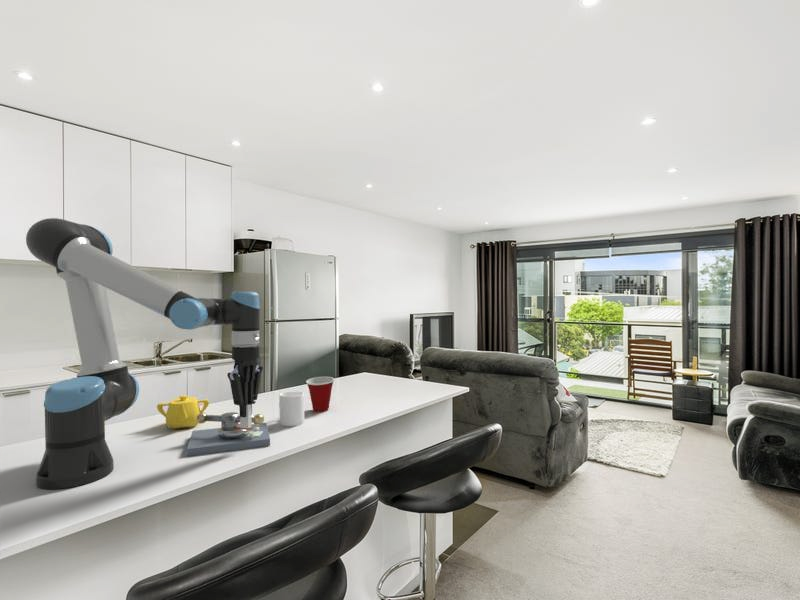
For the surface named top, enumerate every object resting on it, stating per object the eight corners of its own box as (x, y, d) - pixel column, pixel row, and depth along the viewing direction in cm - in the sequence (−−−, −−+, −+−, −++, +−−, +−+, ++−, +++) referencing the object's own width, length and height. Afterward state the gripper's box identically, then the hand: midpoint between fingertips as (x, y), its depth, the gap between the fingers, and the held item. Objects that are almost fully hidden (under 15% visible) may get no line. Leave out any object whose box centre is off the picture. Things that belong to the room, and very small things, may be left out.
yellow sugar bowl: (214, 423, 147) (214, 393, 147) (180, 434, 136) (180, 402, 136) (187, 418, 153) (187, 390, 153) (153, 428, 142) (153, 397, 142)
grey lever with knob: (188, 438, 125) (188, 416, 125) (205, 428, 134) (205, 408, 134) (257, 440, 123) (256, 418, 123) (269, 430, 132) (269, 410, 131)
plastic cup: (300, 411, 161) (299, 380, 161) (318, 405, 170) (317, 375, 170) (322, 415, 156) (322, 383, 156) (340, 408, 165) (340, 377, 165)
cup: (288, 428, 141) (287, 398, 141) (269, 421, 149) (269, 392, 149) (309, 422, 147) (308, 393, 147) (290, 416, 155) (290, 388, 155)
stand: (186, 456, 117) (186, 444, 117) (192, 437, 133) (192, 427, 133) (270, 445, 125) (269, 434, 125) (266, 428, 141) (266, 419, 141)
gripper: (241, 348, 114) (242, 435, 115) (270, 343, 127) (270, 422, 127) (219, 347, 117) (219, 432, 117) (249, 342, 129) (249, 419, 129)
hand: (245, 427), depth 122 cm, fingers closed
